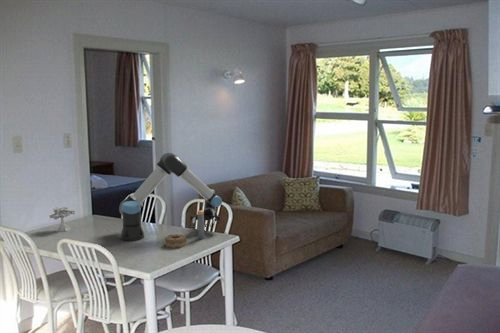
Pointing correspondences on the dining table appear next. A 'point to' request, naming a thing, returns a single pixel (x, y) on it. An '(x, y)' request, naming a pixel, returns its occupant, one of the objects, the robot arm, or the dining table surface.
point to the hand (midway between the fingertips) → (203, 221)
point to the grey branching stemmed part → (62, 214)
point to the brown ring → (175, 241)
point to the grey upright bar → (200, 224)
